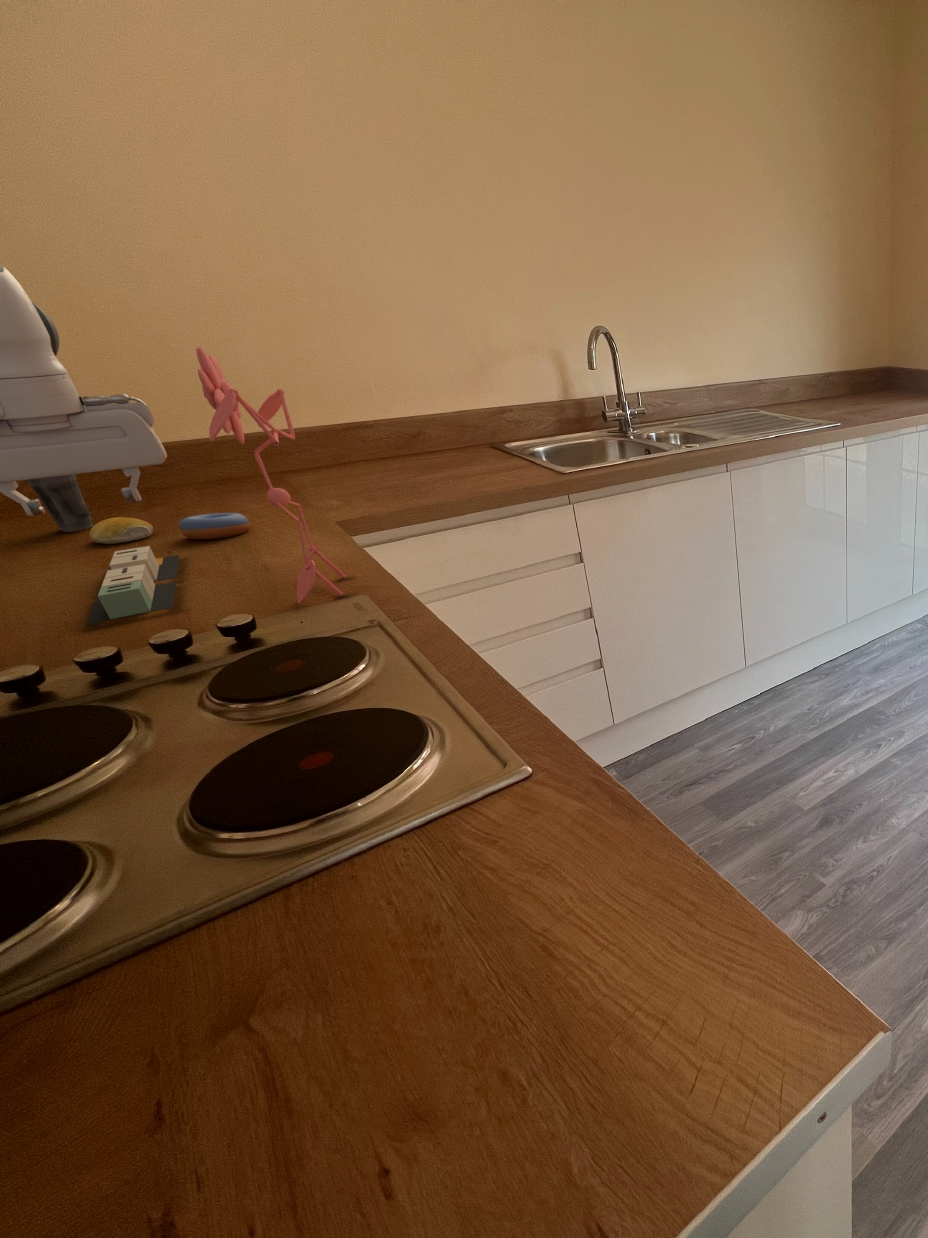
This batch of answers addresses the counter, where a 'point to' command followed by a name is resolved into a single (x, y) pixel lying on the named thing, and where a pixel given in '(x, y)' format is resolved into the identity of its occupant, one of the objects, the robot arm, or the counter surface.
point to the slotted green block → (125, 599)
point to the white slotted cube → (131, 571)
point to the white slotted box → (128, 579)
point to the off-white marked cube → (138, 551)
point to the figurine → (258, 450)
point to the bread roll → (120, 530)
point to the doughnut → (214, 526)
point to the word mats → (162, 593)
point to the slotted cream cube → (135, 563)
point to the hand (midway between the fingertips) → (87, 507)
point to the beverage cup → (63, 501)
